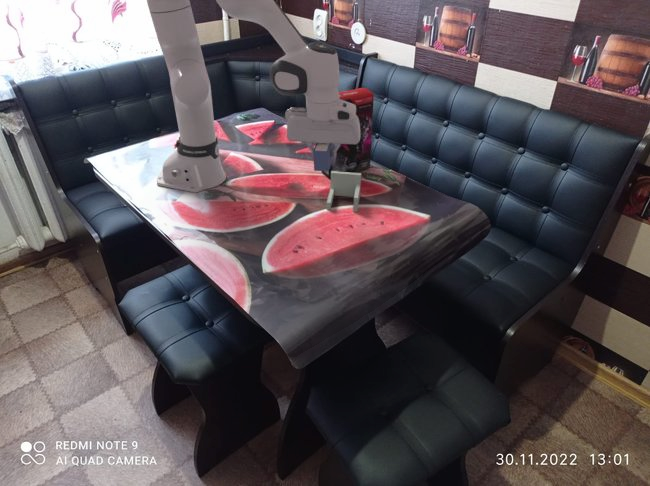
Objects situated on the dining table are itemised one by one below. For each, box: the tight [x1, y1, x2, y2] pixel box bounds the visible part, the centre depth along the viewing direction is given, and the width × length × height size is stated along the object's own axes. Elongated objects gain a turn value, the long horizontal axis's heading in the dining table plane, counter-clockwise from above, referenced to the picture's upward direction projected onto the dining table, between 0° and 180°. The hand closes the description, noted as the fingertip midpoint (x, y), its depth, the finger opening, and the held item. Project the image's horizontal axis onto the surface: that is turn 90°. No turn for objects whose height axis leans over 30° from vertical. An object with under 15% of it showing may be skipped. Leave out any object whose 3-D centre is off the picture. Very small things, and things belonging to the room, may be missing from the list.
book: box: [313, 143, 333, 172], centre depth 136 cm, size 4×10×6 cm, turn 171°
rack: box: [326, 171, 362, 213], centre depth 149 cm, size 9×10×8 cm
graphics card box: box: [320, 86, 375, 180], centre depth 161 cm, size 17×7×27 cm, turn 120°
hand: (324, 156), depth 136 cm, fingers closed on book, 4 cm apart
